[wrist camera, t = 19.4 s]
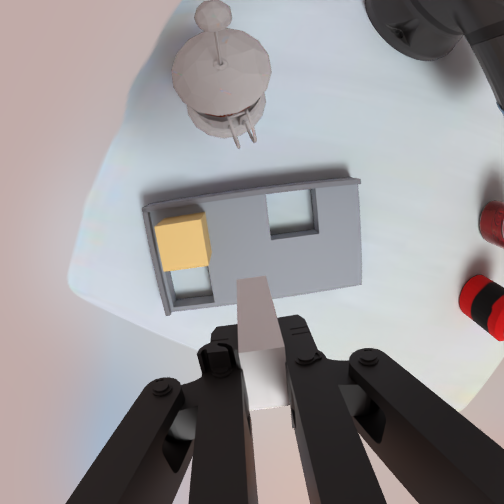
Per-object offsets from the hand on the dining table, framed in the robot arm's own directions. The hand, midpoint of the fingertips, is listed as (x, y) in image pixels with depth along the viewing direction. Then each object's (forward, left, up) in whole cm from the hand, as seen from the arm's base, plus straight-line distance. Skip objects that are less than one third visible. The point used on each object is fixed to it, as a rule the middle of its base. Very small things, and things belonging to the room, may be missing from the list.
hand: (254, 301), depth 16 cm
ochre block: (+1, -7, -22) cm, 23 cm away
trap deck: (+3, +1, -24) cm, 25 cm away
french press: (-14, 0, -25) cm, 28 cm away
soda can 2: (+18, +38, -25) cm, 49 cm away
